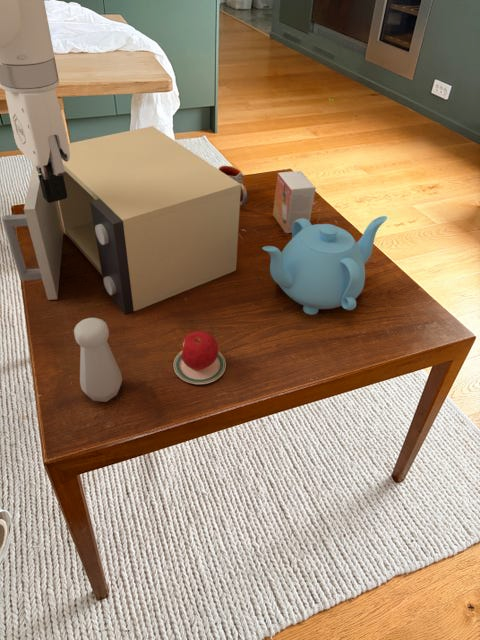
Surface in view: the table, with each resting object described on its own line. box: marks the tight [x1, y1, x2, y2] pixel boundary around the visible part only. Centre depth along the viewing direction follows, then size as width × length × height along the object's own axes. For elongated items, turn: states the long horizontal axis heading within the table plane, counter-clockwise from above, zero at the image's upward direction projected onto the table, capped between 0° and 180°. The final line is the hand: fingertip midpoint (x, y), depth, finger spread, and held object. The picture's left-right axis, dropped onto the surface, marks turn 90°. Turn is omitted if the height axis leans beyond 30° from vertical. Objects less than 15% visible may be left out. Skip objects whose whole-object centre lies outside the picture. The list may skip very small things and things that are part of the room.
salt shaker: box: [73, 317, 123, 403], centre depth 68 cm, size 6×6×13 cm
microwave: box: [57, 125, 241, 315], centre depth 93 cm, size 24×30×18 cm
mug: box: [217, 165, 248, 208], centre depth 114 cm, size 12×7×7 cm, turn 25°
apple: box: [173, 330, 227, 385], centre depth 74 cm, size 8×8×6 cm
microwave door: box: [1, 163, 64, 301], centre depth 88 cm, size 6×22×18 cm, turn 12°
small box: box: [272, 170, 317, 234], centre depth 107 cm, size 8×6×10 cm
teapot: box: [261, 215, 388, 316], centre depth 87 cm, size 16×20×14 cm
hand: (55, 198), depth 77 cm, fingers closed
